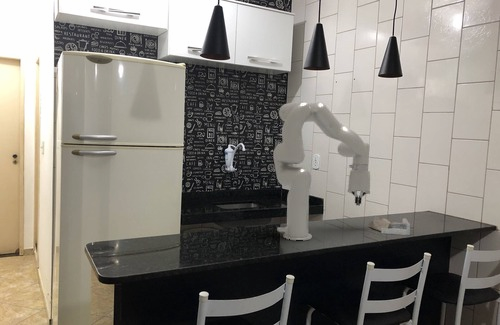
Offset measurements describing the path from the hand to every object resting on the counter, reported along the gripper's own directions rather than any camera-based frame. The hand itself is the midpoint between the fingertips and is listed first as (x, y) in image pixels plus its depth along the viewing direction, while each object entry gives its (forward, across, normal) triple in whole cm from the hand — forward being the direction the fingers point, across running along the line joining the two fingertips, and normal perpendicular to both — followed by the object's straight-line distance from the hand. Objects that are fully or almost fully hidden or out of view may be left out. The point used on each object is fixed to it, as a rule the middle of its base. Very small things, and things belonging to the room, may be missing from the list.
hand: (357, 205), depth 197 cm
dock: (+11, +17, +1) cm, 21 cm away
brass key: (+11, +18, +15) cm, 26 cm away
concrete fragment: (+12, +11, +2) cm, 17 cm away
